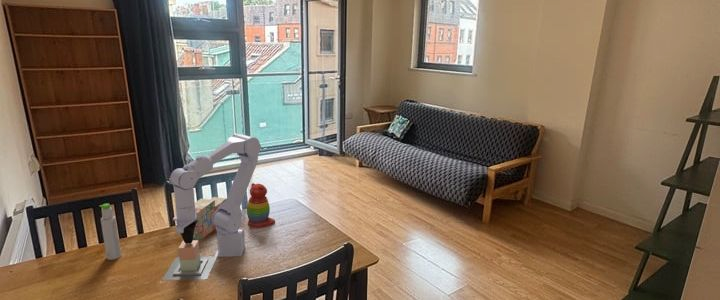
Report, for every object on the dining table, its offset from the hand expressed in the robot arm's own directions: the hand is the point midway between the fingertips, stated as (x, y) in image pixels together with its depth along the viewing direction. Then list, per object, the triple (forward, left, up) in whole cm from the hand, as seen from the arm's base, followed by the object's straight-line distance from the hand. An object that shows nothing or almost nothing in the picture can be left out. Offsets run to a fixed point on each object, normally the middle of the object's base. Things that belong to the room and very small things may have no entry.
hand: (188, 242), depth 135 cm
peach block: (0, 0, -5) cm, 5 cm away
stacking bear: (-18, -34, -10) cm, 40 cm away
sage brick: (0, 0, -10) cm, 10 cm away
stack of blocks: (+2, -30, -10) cm, 32 cm away
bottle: (+29, -9, -10) cm, 32 cm away
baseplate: (0, 0, -10) cm, 10 cm away
